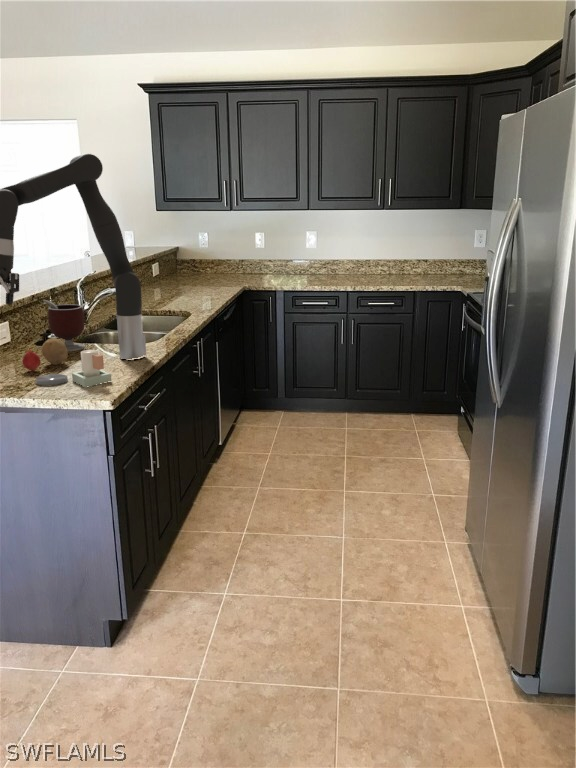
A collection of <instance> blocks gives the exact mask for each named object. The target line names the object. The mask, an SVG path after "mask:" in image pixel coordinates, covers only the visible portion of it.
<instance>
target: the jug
mask: <svg viewBox="0 0 576 768" xmlns="http://www.w3.org/2000/svg"><path fill="white" fill-rule="evenodd" d="M80 362H81V369H82V370H81V371H82V373H83V376H84V377H91V376H96V375H100V369H101V370H104V369H105V364H104V355H103V354H100V353H99V350H97V349H86V350H85V349H84V350H82V351H81V350H80Z"/></svg>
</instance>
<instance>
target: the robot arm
mask: <svg viewBox="0 0 576 768" xmlns="http://www.w3.org/2000/svg"><path fill="white" fill-rule="evenodd" d="M103 169H104V167H103V163H102V161H101V159H100V158H99V157H98V156H97V155H95V154H92V153H81V154H80V155H76V156H74V157H73V158H72V159H70V161H69V163H68V164H67V165H64V166H62V167H58V168H56V169H54V170H50V171H47V172H43V173H42V174H37V175H34V176H31V177H29V178H26V179H24V180H21V181H20V182H18V183H15V184H13V185H12V184H11V185H8V186H5V187H1V188H0V285H1V286H2V287H3V288H4V290H5V291H6V292H5V305H9V306H10V305H13V303H14V296H15V295H14V294H15V293H18V292H20V273H17V272H12V270H13V269H14V257H15V255H14V254H15V243H14V240H15V239H14V238H15V237H14V235H15V223H16V220H17V216H18V211H19V206H22V205H26V204H31V203H34V202H36V201H39V200H42V199H44V198H46V197H48V196H51V195H52V194H55V193H56V192H59V191H61V190H63V189H65V188H68V187H70V186H73V185H75V187H76V190H77V192H78V194H79V195H80V198H81V200H82V202H83V205H84V209H85V211H86V214H87V216H88V219H89V221H90V224H91V228H92V231H93V232H94V233H93V234H94V236H95V238H96V240H97V242H98V245H99V247H100V249H101V251H102V253H103V255H104V257H105V259H106V261H107V263H108V267H109V270H110V274H111V277H112V281H113V285H114V286H113V287H114V289H115V301H116V303H115V304H116V305H115V307H116V308H115V310H116V311H115V312H116V323H117V336H118V349H119V350H118V351H119V359H120V358H122V359H132V358H138V357H141V356H143V355H146V356H147V346H146V345H147V344H146V343H147V342H146V334H145V332H144V331H143V330H144V329H143V315H142V313H143V312H142V307H143V305H142V304H143V302H142V301H143V300H142V285H141V280H140V279H139V277H138V276H137V275H136V274H135V271H134V270H133V267H132V266H131V262H130V260H129V258H128V255H127V251H126V247H125V241H124V236H123V233H122V230H121V227H120V224H119V222H118V219H117V216H116V215H115V213H114V211H113V210H112V208H111V207H110V206H109V204H108V203H107V202H106V200H105V199H104V198H103V196H102V194H101V191H100V189H99V185H98V184H97V180H98V179H99V178H100V177H101V175H102V174H103V171H104V170H103Z"/></svg>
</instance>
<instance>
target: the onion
mask: <svg viewBox="0 0 576 768" xmlns="http://www.w3.org/2000/svg"><path fill="white" fill-rule="evenodd" d="M40 364H41V358H40V356H39V355H38V354H37V353H36V352H34V351H33V349H29V350H28V351H27V352H26V353H25V354H24V355H23V358H22V365H23V367H24V368H25V369H27V370H29V371H31V372H34V371H36V369H38V368H39V367H40Z"/></svg>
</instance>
